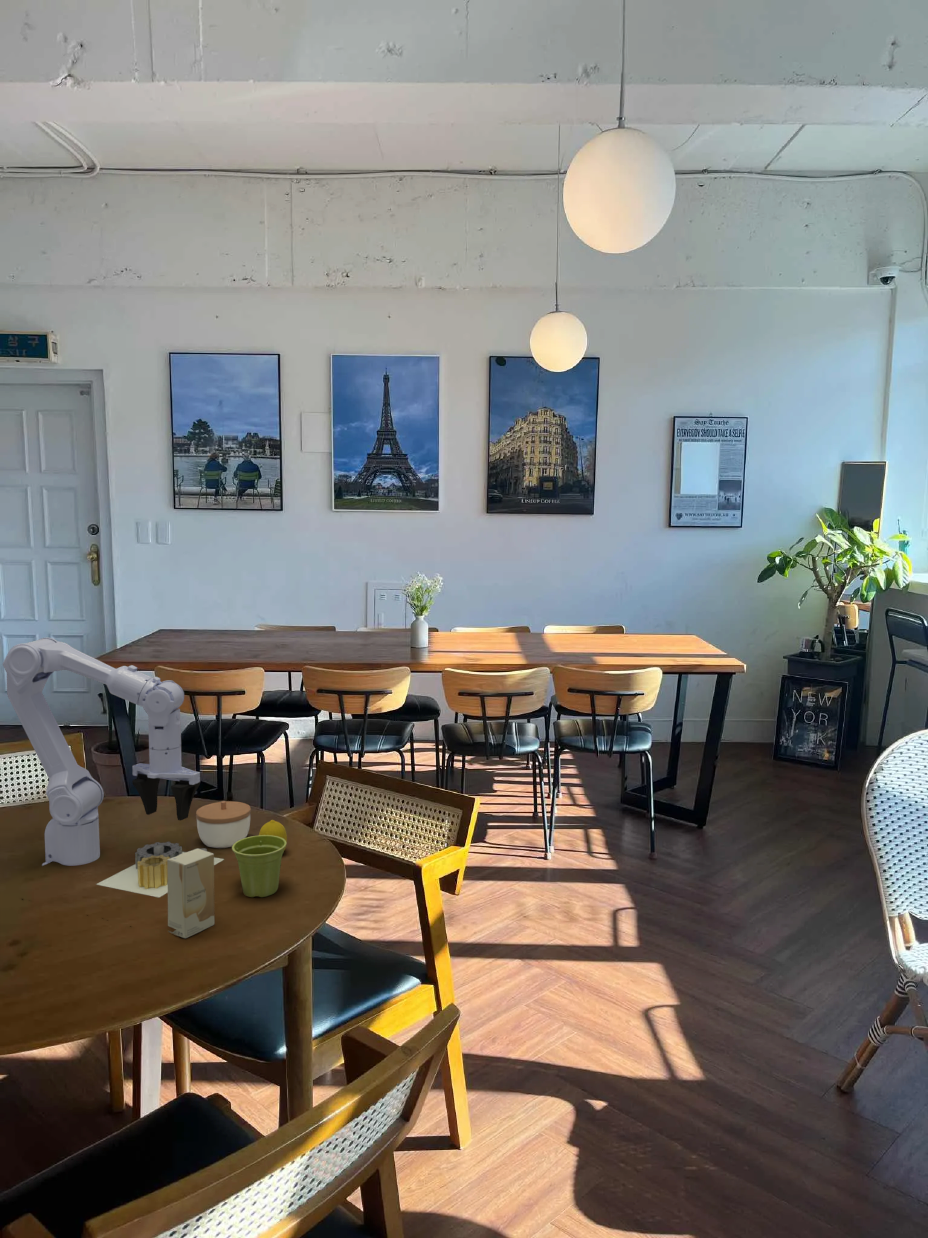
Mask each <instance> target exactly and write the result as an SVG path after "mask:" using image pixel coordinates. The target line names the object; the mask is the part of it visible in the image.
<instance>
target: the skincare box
mask: <svg viewBox="0 0 928 1238" xmlns="http://www.w3.org/2000/svg"><path fill="white" fill-rule="evenodd" d="M185 852H186V853H183V854H180V855H178V856H176V857H173V858H170V859H168V860H167V867H168V893H167V927H169V928H171V929H174V931H171V930H167V932H168V933H171V934H173V935H175V936H177V937H180V938H182V939H187V938H189V937H192V936H194V935H196V934H198V933H201V932H202V931H205V930H206V929H208V928H210V927H212V926H215V865H214V857H215V853H213V852H211V851H208V850H207V851H204V850H201V848H194V849H192V850H189V851H185Z"/></svg>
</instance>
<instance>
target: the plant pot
mask: <svg viewBox="0 0 928 1238" xmlns="http://www.w3.org/2000/svg"><path fill="white" fill-rule="evenodd" d="M285 847H287V845H286V841H285V840H284V839H283V838H281V837H278V836H273V835H259V834H258V835H253V836H248V837H247V836H246V838H244V839H241V840H239V841H237V842H236V843H234V844H233V846H232V847H231V850H232V852H233V853H234V855H235V859H236V860H237V864H238V869H239V876H240V881H241V888H242V893H243V894H244V896H246V897H249V898H254V897H259V898H266V897H269V896H271V895H273V894H275V893H276V892H277V891H278V889H279V883H280V873H281V865H282V858H283V854H284V851H285V850H284V848H285ZM285 849H286V848H285Z"/></svg>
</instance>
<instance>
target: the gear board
mask: <svg viewBox="0 0 928 1238" xmlns="http://www.w3.org/2000/svg"><path fill="white" fill-rule="evenodd" d="M200 849H201V850H204V851H207V852H208V849H207V848H206V847H205V848H203V847H202V848H200ZM186 852H187V851H182V854H183V853H186ZM163 853H164V846H163V845H157V846H154V854H163ZM223 861H225V859H224V858H219V857H215V856H214V866H216V865H217V864H219V863H221V862H223ZM156 864H158V863H156ZM95 885H96V886H101V887H107V888H110V889H114V890H115V889H116V890H121V891H125V892H131V893H135V894H140V895H144V896H151V897H155V898H161V897H163V896H165V895H166V894H168V883H167V885H166V886H160V887H158V888H156V889H155V888H149V889H145V887H139V884H138V869H136V863H135V864H133V865H130V866H129V867H127V868H125V869H123V870H121V871H119V872H117V873H115V874H113V875H112V876H110V877H107V878H105V879H103V880H102V881H100V882H98V883H95Z"/></svg>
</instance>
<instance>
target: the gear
mask: <svg viewBox="0 0 928 1238" xmlns="http://www.w3.org/2000/svg"><path fill="white" fill-rule="evenodd" d="M157 845H163V846H164V853H163V854H154V846H157ZM182 852H183V846H182V845H181V846H180V843H178V842H176V843H171V841H166V842H159V841H158V842H156V841H155V842H154V843H152V844H144V846H143V847H138V848H137V849H136V852H135V853H134V855H135V856H134V857H135V864H136V869H138V863H137V862H138V861H142V858H147V857H151V856H152V855H154V856H160V855H164V857H170V858H173V857H176V856H178V855H180V854H182Z"/></svg>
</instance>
